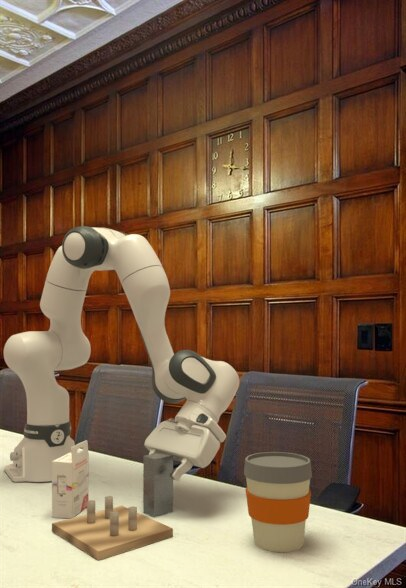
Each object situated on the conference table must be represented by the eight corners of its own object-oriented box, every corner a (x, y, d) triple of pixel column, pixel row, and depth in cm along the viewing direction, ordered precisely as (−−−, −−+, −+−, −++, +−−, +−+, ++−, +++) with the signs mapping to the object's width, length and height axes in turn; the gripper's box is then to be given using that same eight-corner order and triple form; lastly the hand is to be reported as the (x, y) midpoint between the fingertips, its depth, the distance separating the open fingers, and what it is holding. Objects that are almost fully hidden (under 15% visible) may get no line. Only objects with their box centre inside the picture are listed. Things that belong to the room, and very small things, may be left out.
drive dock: (51, 531, 105) (52, 502, 105) (121, 512, 115) (121, 486, 116) (98, 560, 91) (98, 527, 92) (172, 536, 102) (172, 506, 102)
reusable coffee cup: (326, 551, 95) (324, 464, 96) (260, 560, 91) (259, 470, 92) (294, 526, 107) (293, 449, 108) (234, 533, 103) (234, 454, 104)
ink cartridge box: (68, 504, 121) (69, 438, 122) (89, 506, 120) (89, 439, 121) (50, 517, 113) (51, 446, 114) (72, 519, 112) (73, 447, 113)
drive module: (143, 512, 115) (143, 455, 116) (162, 507, 119) (162, 452, 120) (154, 517, 112) (154, 459, 113) (173, 512, 116) (173, 455, 116)
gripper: (159, 409, 130) (125, 456, 123) (216, 419, 115) (180, 474, 107) (174, 425, 133) (141, 473, 126) (231, 438, 117) (197, 493, 110)
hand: (159, 474), depth 116 cm, fingers open, 8 cm apart
